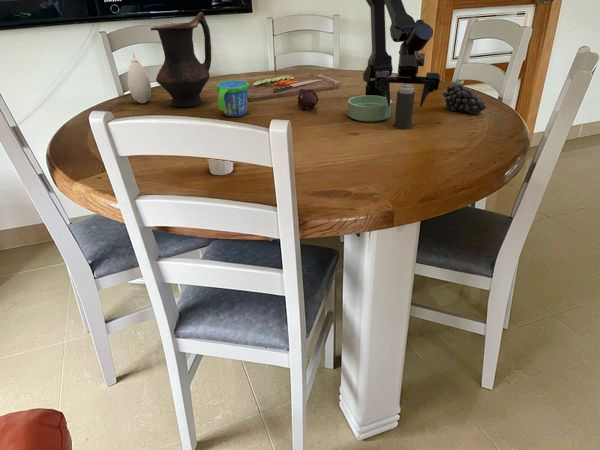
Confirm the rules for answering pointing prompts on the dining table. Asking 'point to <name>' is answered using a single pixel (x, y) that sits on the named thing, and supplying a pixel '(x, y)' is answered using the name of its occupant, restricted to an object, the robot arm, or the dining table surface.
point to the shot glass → (220, 167)
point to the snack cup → (233, 97)
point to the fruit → (463, 99)
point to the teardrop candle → (138, 81)
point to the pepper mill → (404, 107)
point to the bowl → (369, 108)
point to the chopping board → (288, 85)
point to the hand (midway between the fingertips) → (404, 105)
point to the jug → (183, 62)
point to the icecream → (307, 99)
